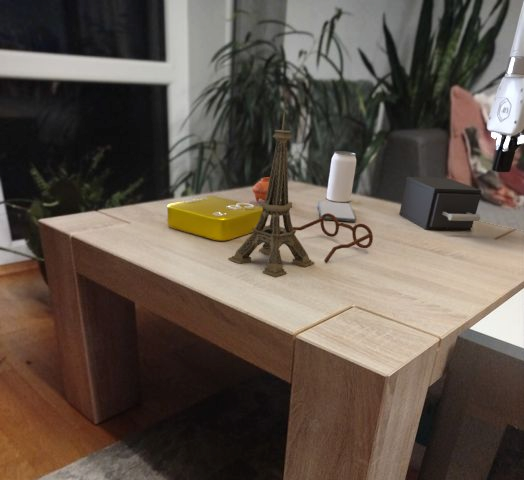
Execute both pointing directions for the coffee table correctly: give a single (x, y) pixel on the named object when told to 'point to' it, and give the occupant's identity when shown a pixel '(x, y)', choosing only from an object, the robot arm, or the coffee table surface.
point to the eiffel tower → (275, 217)
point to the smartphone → (337, 211)
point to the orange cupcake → (261, 189)
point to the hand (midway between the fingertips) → (500, 171)
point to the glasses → (356, 241)
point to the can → (341, 177)
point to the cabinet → (428, 198)
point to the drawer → (455, 210)
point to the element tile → (214, 217)
